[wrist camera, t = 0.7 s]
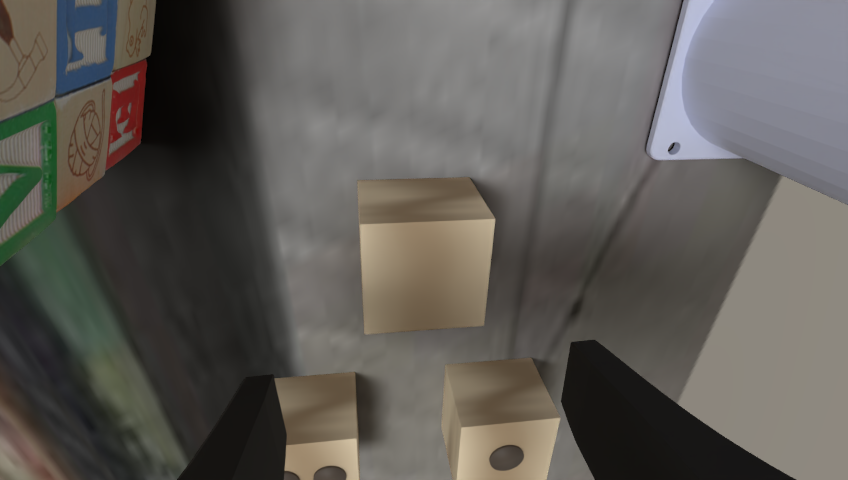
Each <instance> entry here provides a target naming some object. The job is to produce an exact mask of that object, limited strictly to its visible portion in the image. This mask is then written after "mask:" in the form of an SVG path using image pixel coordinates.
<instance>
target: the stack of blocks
mask: <svg viewBox="0 0 848 480" xmlns="http://www.w3.org/2000/svg"><path fill="white" fill-rule="evenodd" d="M155 7H156V0H0V266H1V265H2V264H3V263H5V262H6V261H7V260H8V259H9V258H11V257H12V256H13V255H14V254H15V253H17V252H18V251H19V250H21V249H22V248H23V247H24V246H25V245H27V244H28V243H29V242H30V241H31V240H32V239H33V238H34V237H36V236H37V235H38V234H40V233H41V232H42V231H43V230H44V229H45V228H47V227H48V226H49V225H50V224H51V223H52V222H53V221H54V220H55V218H56V212H58V211H59V210H61V209H62V208H63V207H65V206H66V205H67V204H69V203H70V202H72V201H73V200H74V199H75V198H76V197H77V196H78V195H80V194H81V193H82V192H83V191H85V190H86V189H87V188H89V187H90V186H91V185H92V184H94V183H95V182H96V181H97V180H99V179H100V178H102V177H103V176H104V175H105V170H108V169H109V168H110V167H112V166H114V165H115V164H116V163H117V162H119V161H120V160H121V159H123V158H124V157H125V156H126V155H128V154H129V153H130V152H131V151H132V150H134V149H135V148H136V147H137V146H138V145H139V144H140V142H141V133H142V119H143V106H144V93H145V83H146V69H147V62H146V57H148V56H150V54H151V48H152V38H153V28H154V18H155Z"/></svg>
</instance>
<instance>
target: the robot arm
mask: <svg viewBox="0 0 848 480" xmlns="http://www.w3.org/2000/svg"><path fill="white" fill-rule="evenodd" d="M674 142H675V145H674V147H673V149H672V150H671V151H668V148H669V146H670V145H671V144H672V143H674ZM646 151H647V154H648V155H649V156H650V157H652V158H653V159H655V160H691V159H734V158H745V159H747V160H749V161H752V162H754V163H756V164H758V165H760V166H763V167H765V168H767V169H769V170H771V171H774V172H776V173H778V174H780V175H783V176H785V177H787V178H789V179H792V180H794V181H796V182H798V183H801V184H803V185H805V186H807V187H809V188H811V189H814V190H816V191H818V192H820V193H822V194H825V195H827V196H829V197H831V198H834V199H836V200H838V201H840V202H843V203H845V204H847V205H848V0H684V1H683V5H682V9H681V13H680V17H679V21H678V25H677V29H676V33H675V37H674V41H673V45H672V49H671V53H670V56H669V60H668V64H667V68H666V72H665V76H664V80H663V84H662V88H661V92H660V96H659V100H658V104H657V108H656V112H655V115H654V119H653V123H652V127H651V131H650V135H649V139H648V143H647V149H646ZM561 403H562V406H563V409H564V411H565V414H566V417H567V420H568V423H569V425H570V428H571V431H572V433H573V436H574V438H575V441H576V443H577V445H578V447H579V449H580V451H581V453H582V455H583V457H584V459H585V461H586V463H587V465H588V467H589V469H590V471H591V473H592V475H593V477H594V479H595V480H796V479H794V478H792V477H790V476H788V475H787V474H785V473H783V472H781V471H780V470H778V469H776V468H774V467H773V466H771V465H769V464H767V463H766V462H764V461H762V460H761V459H759V458H758V457H756V456H754V455H752V454H751V453H749V452H748V451H746V450H744V449H743V448H741V447H740V446H738V445H736V444H734V443H733V442H732V441H730V440H728V439H727V438H725V437H724V436H722V435H721V434H719V433H717V432H716V431H715V430H713V429H712V428H710V427H709V426H708V425H706V424H704V423H703V422H702V421H700V420H699V419H697V418H696V417H695V416H693V415H692V414H690V413H689V412H687V411H686V410H685V409H683V408H682V407H681V406H679V405H678V404H676V403H675V402H674V401H672V400H671V399H670V398H668V397H667V396H666V395H664V394H663V393H662V392H660V391H659V390H658V389H657V388H655V387H654V386H653V385H651V384H650V383H649V382H648V381H646V380H645V379H644V378H642V377H641V376H640V375H639V374H637V373H636V372H635V371H634V370H632V369H631V368H630V367H629V366H627V365H626V364H625V363H624V362H622V361H621V360H620V359H619V358H617V357H616V356H615V355H614V354H612V353H611V352H610V351H609V350H607V349H606V348H605V347H604V346H602V345H601V344H600V343H598V342H597V341H596V340H587V341H578V342H571V346H570V352H569V358H568V364H567V369H566V375H565V381H564V387H563V393H562V398H561ZM286 442H287V433H286V428H285V424H284V419H283V415H282V411H281V406H280V402H279V397H278V393H277V388H276V384H275V379H274V375H273V374H272V375H263V376H254V377H246V378H245V379H244V380H243V381H242V383H241V384H240V386H239V388H238V389H237V391H236V393H235V394H234V396H233V398H232V399H231V401H230V403H229V404H228V406H227V407H226V409H225V411H224V412H223V414H222V415H221V417H220V419H219V420H218V422H217V423H216V425H215V426H214V428H213V429H212V431H211V432H210V434H209V435H208V437H207V438H206V440H205V441H204V443H203V444H202V446H201V447H200V448H199V450H198V451H197V453H196V454H195V456H194V457H193V459H192V460H191V462H190V463H189V464H188V466H187V467H186V469H185V470H184V471H183V472H182V474H181V475H180V476H179V478H178V479H177V480H284V472H285V459H286Z"/></svg>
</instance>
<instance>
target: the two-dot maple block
mask: <svg viewBox="0 0 848 480" xmlns="http://www.w3.org/2000/svg"><path fill="white" fill-rule="evenodd" d="M275 384H276V388H277V393H278V397H279V402H280V406H281V411H282V415H283V419H284V424H285V428H286V433H287V442H286V459H285V472H284V480H360V465H359V431H358V414H357V396H356V378H355V372H348V373H336V374H324V375H312V376H299V377H287V378H275Z"/></svg>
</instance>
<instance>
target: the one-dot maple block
mask: <svg viewBox="0 0 848 480" xmlns="http://www.w3.org/2000/svg"><path fill="white" fill-rule="evenodd" d="M559 422H560V416H559V414H558V412H557V410H556V408H555V406H554V404H553V401H552V399H551V397H550V395H549V393H548V391H547V389H546V387H545V385H544V383H543V381H542V379H541V377H540V375H539V373H538V371H537V369H536V366H535V364H534V362H533V360H532V358H521V359H509V360H497V361H484V362H472V363H459V364H447V365H445V380H444V395H443V411H442V431H443V436H444V441H445V446H446V450H447V455H448V460H449V465H450V469H451V474H452V479H453V480H546V478H547V474H548V470H549V465H550V461H551V457H552V452H553V448H554V444H555V439H556V435H557V431H558V426H559Z"/></svg>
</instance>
